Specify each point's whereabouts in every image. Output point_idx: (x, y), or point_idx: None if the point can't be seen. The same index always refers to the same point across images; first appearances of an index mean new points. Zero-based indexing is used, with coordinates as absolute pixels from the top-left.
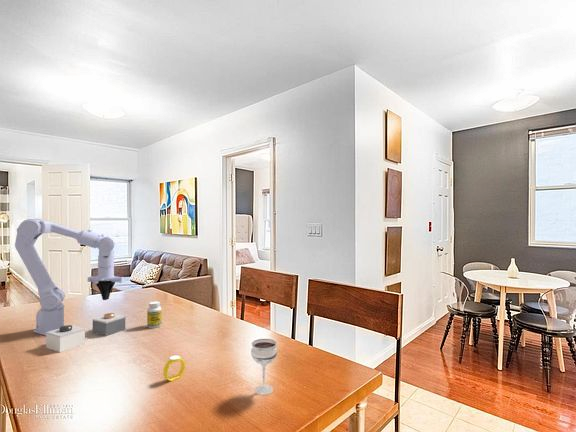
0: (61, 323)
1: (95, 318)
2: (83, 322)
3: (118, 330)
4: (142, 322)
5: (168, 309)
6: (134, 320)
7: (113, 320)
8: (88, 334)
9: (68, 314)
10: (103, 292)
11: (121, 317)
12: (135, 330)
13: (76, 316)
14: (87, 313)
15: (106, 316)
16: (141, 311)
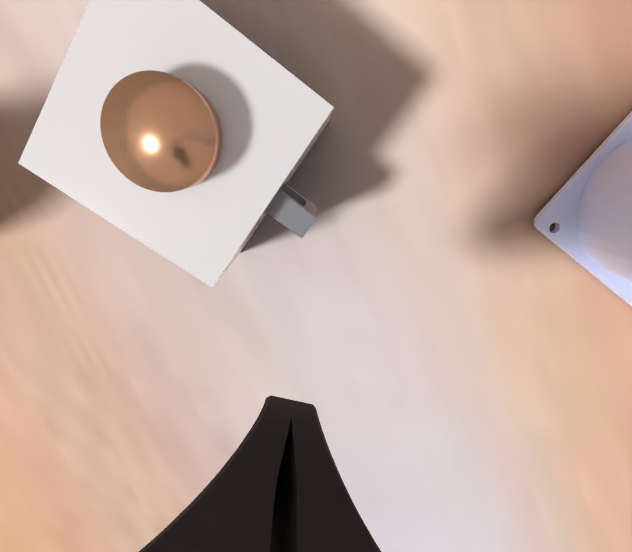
0: (624, 193)
1: (307, 115)
2: (475, 368)
3: None
4: (50, 308)
5: (8, 541)
6: (131, 359)
7: (82, 28)
8: (345, 79)
9: (617, 532)
10: (292, 498)
11: (39, 120)
12: (7, 122)
13: (557, 490)
14: (504, 535)
15: (166, 74)
16: None
